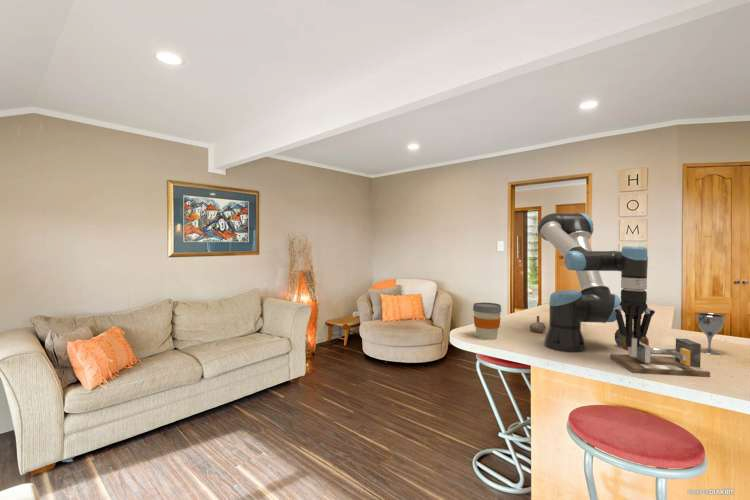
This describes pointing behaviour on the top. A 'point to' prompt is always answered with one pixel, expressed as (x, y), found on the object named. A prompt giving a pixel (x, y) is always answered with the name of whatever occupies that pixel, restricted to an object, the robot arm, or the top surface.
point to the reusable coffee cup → (487, 319)
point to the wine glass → (710, 328)
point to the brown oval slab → (621, 340)
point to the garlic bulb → (538, 326)
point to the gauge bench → (666, 362)
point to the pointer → (687, 353)
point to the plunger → (655, 352)
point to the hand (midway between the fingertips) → (632, 355)
